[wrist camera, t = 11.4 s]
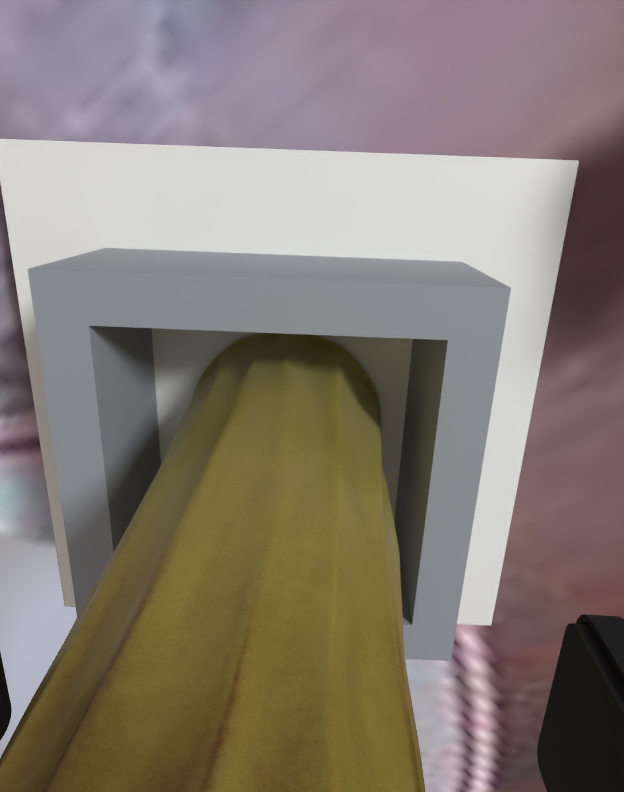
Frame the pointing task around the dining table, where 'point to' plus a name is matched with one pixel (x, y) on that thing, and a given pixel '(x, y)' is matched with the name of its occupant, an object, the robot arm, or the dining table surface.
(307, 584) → the vase
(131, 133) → the dining table surface
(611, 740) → the robot arm
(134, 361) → the holder
